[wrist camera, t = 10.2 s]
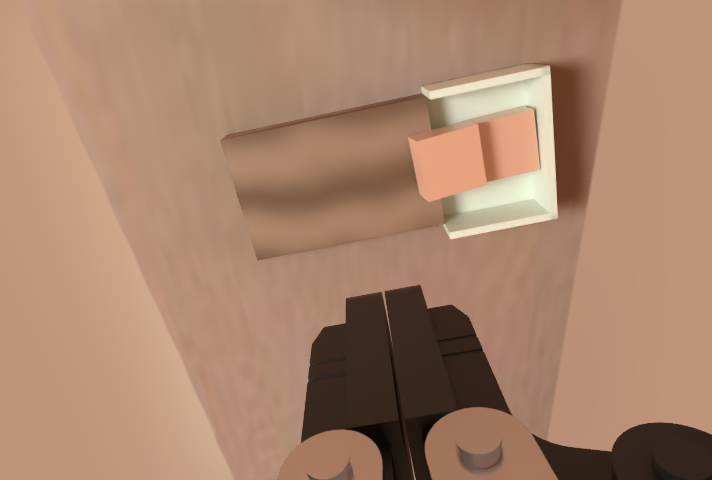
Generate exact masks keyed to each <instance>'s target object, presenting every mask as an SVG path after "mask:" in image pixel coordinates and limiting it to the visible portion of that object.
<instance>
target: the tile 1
mask: <svg viewBox="0 0 712 480" xmlns="http://www.w3.org/2000/svg"><path fill="white" fill-rule="evenodd" d="M408 140H409V145H410V150H411V155H412V160H413V164H414V169H415V174H416V179H417V184H418V189H419V194H420V195H421V196H422V197H423V198H424V199H426V200H427V201H428V202H431V201H434V200H438V199H441V198H444V197H448V196H451V195H455V194H458V193H461V192H465V191H468V190H472V189H475V188H478V187H482V186H485V185H487V181H486V175H485V168H484V161H483V154H482V148H481V141H480V134H479V127H478V124H476V123H473V122H470V121H467V120H465V121H462V122H458V123H455V124H451V125H448V126H444V127H440V128H437V129H433V130H430V131H426V132H423V133H419V134H416V135H412V136H409V137H408Z"/></svg>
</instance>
